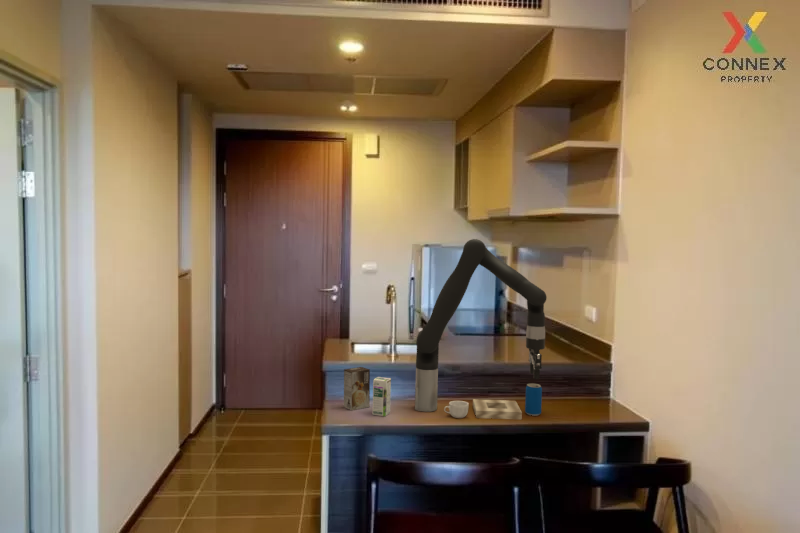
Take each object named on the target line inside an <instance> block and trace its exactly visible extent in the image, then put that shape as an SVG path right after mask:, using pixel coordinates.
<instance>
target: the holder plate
mask: <svg viewBox="0 0 800 533" xmlns="http://www.w3.org/2000/svg"><path fill="white" fill-rule="evenodd" d="M518 404H519V403H517V401H516V400H508V399H507V400H505V399H504V400H503V399H477V398H476V399H474V398H473V399H472V408H473V412H474V415H476V416H475V418H476V419H491V418H492V420H493V419H494V420H495V419H497V420H498V419H499V420H523V416H522V415H523V412H522V410H521V408H520V406H519V405H518Z"/></svg>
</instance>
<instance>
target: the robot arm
mask: <svg viewBox="0 0 800 533" xmlns="http://www.w3.org/2000/svg"><path fill="white" fill-rule="evenodd" d="M479 265H480V266H482V267H483V268H485V269H486V270H487V271H489V272H490V273H492V274H493V275H494V276H495V277H496V278H498V279H499V281H501V282H502V283H503V284H505V285H506V286H507V287H508V288H510V289H511V290H513V292H515V293H517V294H519V295H520V296H522V297H523V298H524V299H525V300H526V306H527V320H526V330H525V331H526V332H525V333H526V334H525V335H526V336H525V337H526V338H525V347H526V349H528V363H529V374H530V375H531V374H532V375H533V379H535V380H539V379H540V377H541V376H540V372H541V371H540V370H542V356H543V355H542V353H540V351H541V350H544V349H545V347H546V325H545V324H546V314H545V308H544V305H545V303H546V301H547V299H548V298H547V294H546V292H545V291H544V290H543V289H541V288H540V287H539V286H537V285H536V284H534V283H533V282H531V281H530V280H528V278H526V276H524V275H523V274H522V273H520V272H519V271H517V270H516V269H515V268H513V267H512V266H510V265H508V264H506V262H504V261H502V260H501V259H499V258H498V257H497V256H495V255H494V254H493V253H492V252H491V251H490V250H489V249H488V248H487V247H486V245H485V243H484V242H483V241H482V240H481V239H479V238H472V239H470V240H467V241H466V242H465V244H464V245H463V247H462V252H461V255H460V257H459V260H458V262H457V265H456V267H455V268H454V270H453V271H452V272H451V274H450V276H448V278H447V279H446V281H445V283H444V285H443V286H442V288H441V291H440V292H439V294H438V295H437V298H436V300H435V303H434V306H433V309H432V311H431V315H430V318H429V319H428V320H427V322H426V324H425V325H424V327H423V328H422V330H420V331H419V332H418V334H417V336H416V340H415V342H416V358H415V385H414V386H415V388H414V389H415V391H414V393H415V394H414V411H419V412H424V413H427V412H436V411H437V410H438V388H439V387H438V386H439V384H438V383H439V382H438V381H439V379H438V378H439V377H438V376H439V352H440V351H439V349H440V348H439V347H440V346H439V343H440V341H441V339H442V336H443V333H444V331H445V328H446V326H448V323H449V322H450V321H451V319H452V318H453V316H454V315H455V313H456V311H457V309H458V308H459V306H460V304H461V302H462V300H463V298H464V296H465V294H466V292H467V289H468V287H469V285H470V281H471V279H472V277H473V275H474V273H475V272H476V270H477V268H478V266H479Z"/></svg>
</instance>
